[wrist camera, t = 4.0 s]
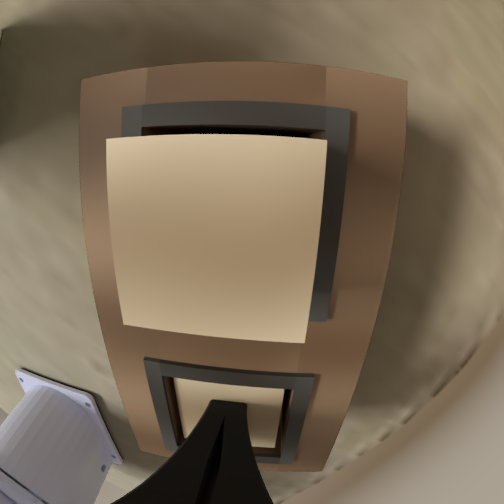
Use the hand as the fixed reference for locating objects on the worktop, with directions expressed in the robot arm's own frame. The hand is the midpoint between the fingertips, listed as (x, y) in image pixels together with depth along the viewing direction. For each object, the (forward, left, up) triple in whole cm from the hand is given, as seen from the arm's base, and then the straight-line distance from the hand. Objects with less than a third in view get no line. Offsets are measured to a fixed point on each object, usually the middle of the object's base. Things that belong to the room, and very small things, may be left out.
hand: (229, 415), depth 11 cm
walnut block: (+4, 0, -4) cm, 6 cm away
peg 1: (+8, 0, -1) cm, 8 cm away
